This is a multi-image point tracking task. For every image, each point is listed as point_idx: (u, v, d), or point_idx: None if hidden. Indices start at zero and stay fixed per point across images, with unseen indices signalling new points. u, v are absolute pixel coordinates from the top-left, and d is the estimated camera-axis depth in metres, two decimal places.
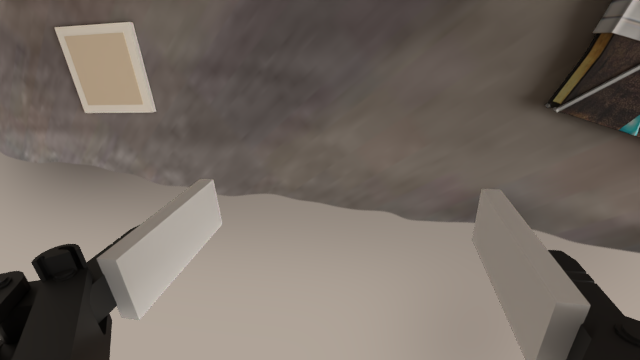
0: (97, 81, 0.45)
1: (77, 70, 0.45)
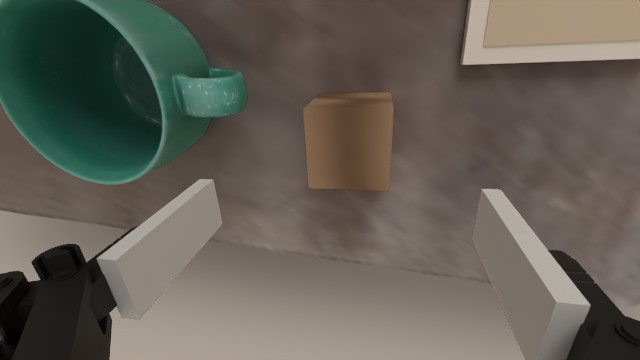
0: None
1: (556, 39, 0.21)
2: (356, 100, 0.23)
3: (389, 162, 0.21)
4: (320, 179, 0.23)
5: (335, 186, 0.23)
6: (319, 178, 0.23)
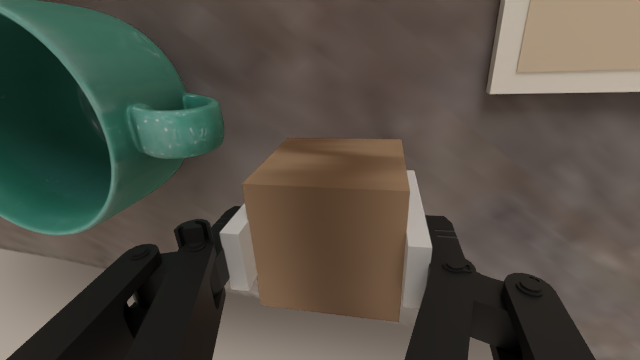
0: None
1: (610, 65, 0.17)
2: (343, 160, 0.13)
3: (399, 279, 0.12)
4: (279, 294, 0.13)
5: (305, 307, 0.13)
6: (278, 293, 0.13)
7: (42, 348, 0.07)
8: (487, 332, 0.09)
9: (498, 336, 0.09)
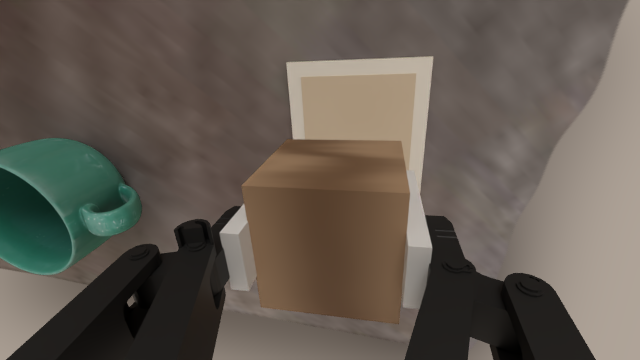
0: None
1: None
2: (342, 162, 0.13)
3: (399, 281, 0.12)
4: (279, 296, 0.13)
5: (305, 308, 0.13)
6: (277, 294, 0.13)
7: (42, 348, 0.07)
8: (487, 332, 0.09)
9: (498, 336, 0.09)
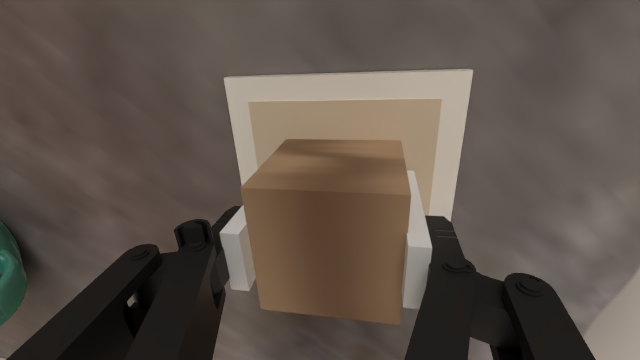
0: None
1: None
2: (342, 162, 0.13)
3: (400, 283, 0.12)
4: (279, 298, 0.13)
5: (305, 310, 0.13)
6: (277, 296, 0.13)
7: (42, 348, 0.07)
8: (487, 332, 0.09)
9: (498, 336, 0.09)
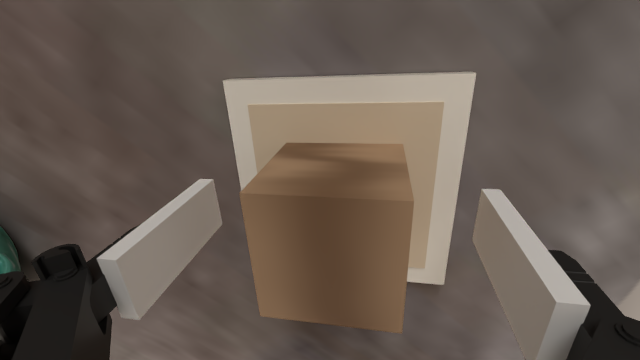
0: None
1: None
2: (343, 167, 0.13)
3: (403, 290, 0.11)
4: (278, 305, 0.13)
5: (305, 318, 0.13)
6: (277, 303, 0.13)
7: None
8: None
9: None
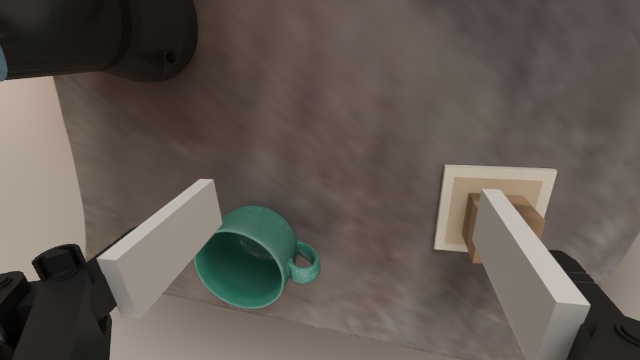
0: None
1: None
2: None
3: None
4: None
5: None
6: None
7: None
8: None
9: None
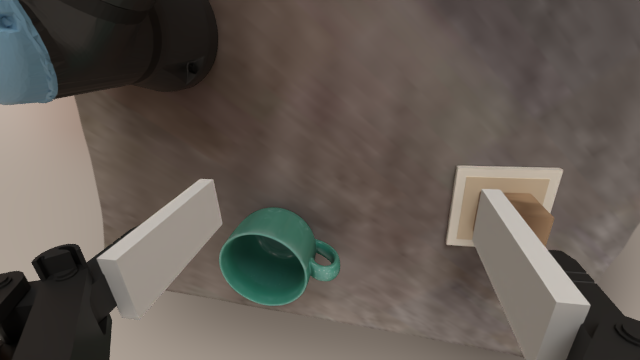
0: None
1: None
2: (518, 204, 0.37)
3: None
4: None
5: None
6: None
7: None
8: None
9: None
